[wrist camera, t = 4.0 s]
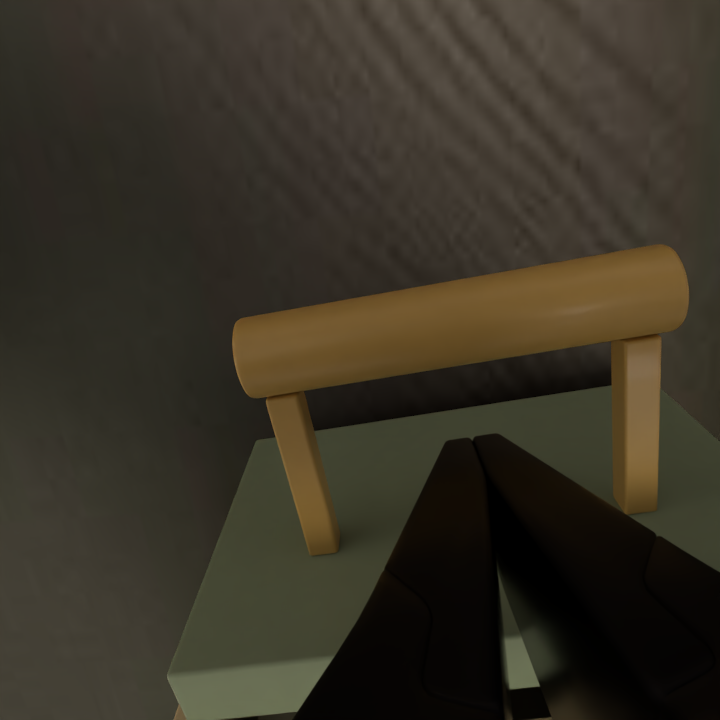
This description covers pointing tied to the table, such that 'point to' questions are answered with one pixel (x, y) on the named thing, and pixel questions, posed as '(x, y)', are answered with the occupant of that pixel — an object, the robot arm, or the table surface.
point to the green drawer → (429, 460)
